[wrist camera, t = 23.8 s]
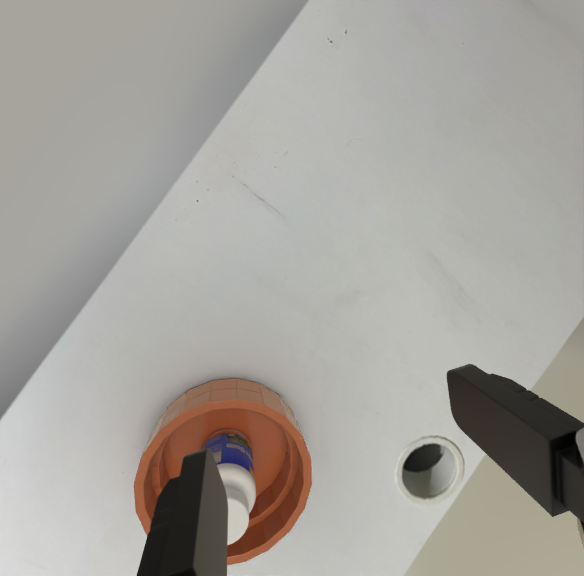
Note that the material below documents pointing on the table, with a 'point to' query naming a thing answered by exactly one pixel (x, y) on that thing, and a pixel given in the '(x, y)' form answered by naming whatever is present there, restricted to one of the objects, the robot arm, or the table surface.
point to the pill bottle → (235, 477)
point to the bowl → (265, 448)
